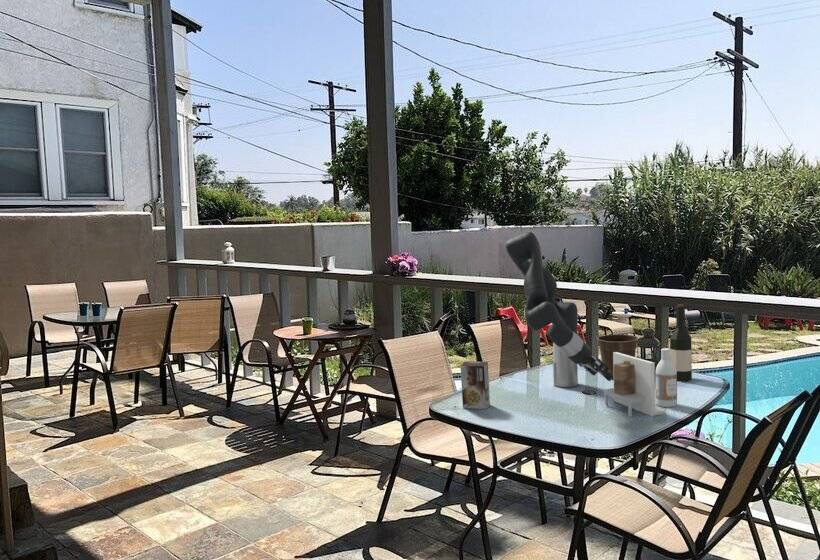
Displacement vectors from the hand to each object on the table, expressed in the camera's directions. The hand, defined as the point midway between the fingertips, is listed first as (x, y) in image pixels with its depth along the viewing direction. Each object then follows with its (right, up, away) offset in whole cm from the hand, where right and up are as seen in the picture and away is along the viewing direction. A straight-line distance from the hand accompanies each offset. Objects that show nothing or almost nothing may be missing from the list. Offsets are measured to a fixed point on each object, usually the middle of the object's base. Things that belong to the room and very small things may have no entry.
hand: (603, 376), depth 232 cm
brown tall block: (+9, -6, +4) cm, 11 cm away
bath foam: (+24, -11, +8) cm, 28 cm away
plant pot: (+20, -7, +50) cm, 54 cm away
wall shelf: (+11, -12, +6) cm, 17 cm away
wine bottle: (+42, -7, +40) cm, 58 cm away
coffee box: (-41, -14, +18) cm, 47 cm away
